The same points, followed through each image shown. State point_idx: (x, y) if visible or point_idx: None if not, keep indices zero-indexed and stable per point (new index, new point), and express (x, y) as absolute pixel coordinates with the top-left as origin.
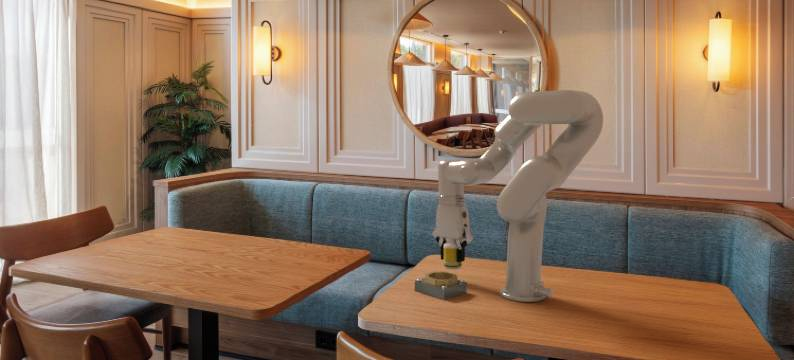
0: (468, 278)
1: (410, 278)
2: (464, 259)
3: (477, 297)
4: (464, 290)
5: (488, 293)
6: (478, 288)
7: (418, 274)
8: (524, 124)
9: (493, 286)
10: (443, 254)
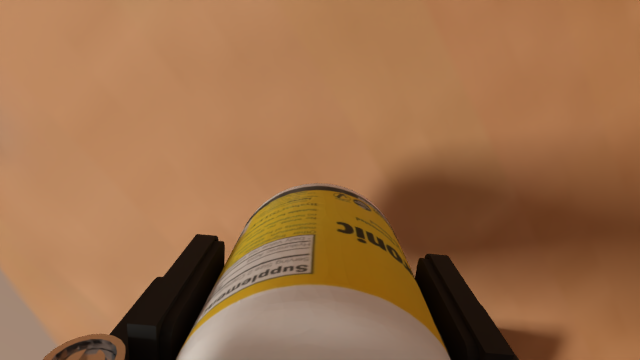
0: (358, 69)
1: (83, 335)
2: (448, 263)
3: (575, 353)
4: None
5: (603, 262)
6: (518, 223)
7: (41, 235)
8: None
9: (583, 120)
10: None
